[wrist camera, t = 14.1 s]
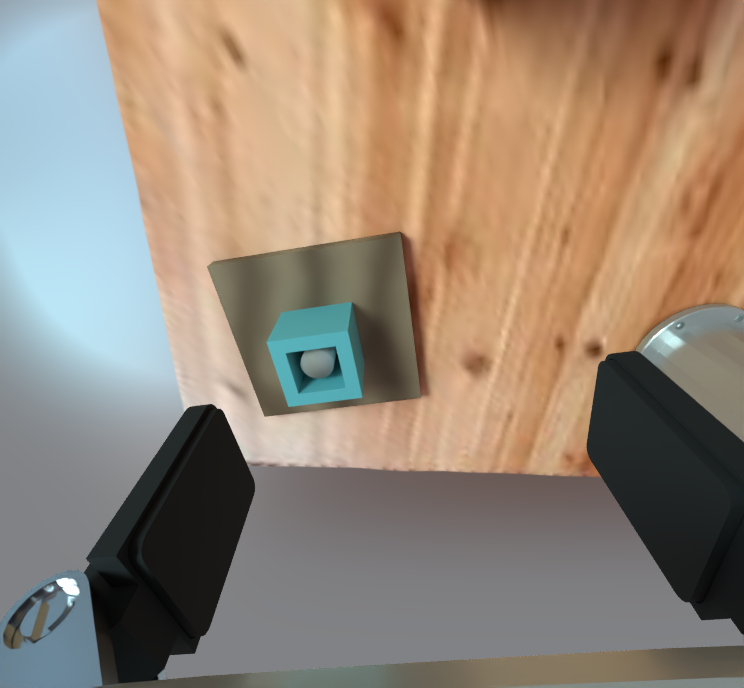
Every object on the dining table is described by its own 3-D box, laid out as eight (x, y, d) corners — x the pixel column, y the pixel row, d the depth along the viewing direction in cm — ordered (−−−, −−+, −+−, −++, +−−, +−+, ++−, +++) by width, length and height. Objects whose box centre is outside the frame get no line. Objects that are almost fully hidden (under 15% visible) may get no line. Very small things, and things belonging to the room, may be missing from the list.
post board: (400, 231, 35) (404, 251, 30) (419, 389, 44) (426, 428, 38) (213, 261, 37) (183, 286, 31) (267, 408, 46) (252, 448, 40)
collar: (351, 301, 37) (347, 330, 32) (364, 362, 41) (362, 397, 35) (281, 312, 38) (266, 342, 33) (299, 371, 41) (288, 406, 36)
